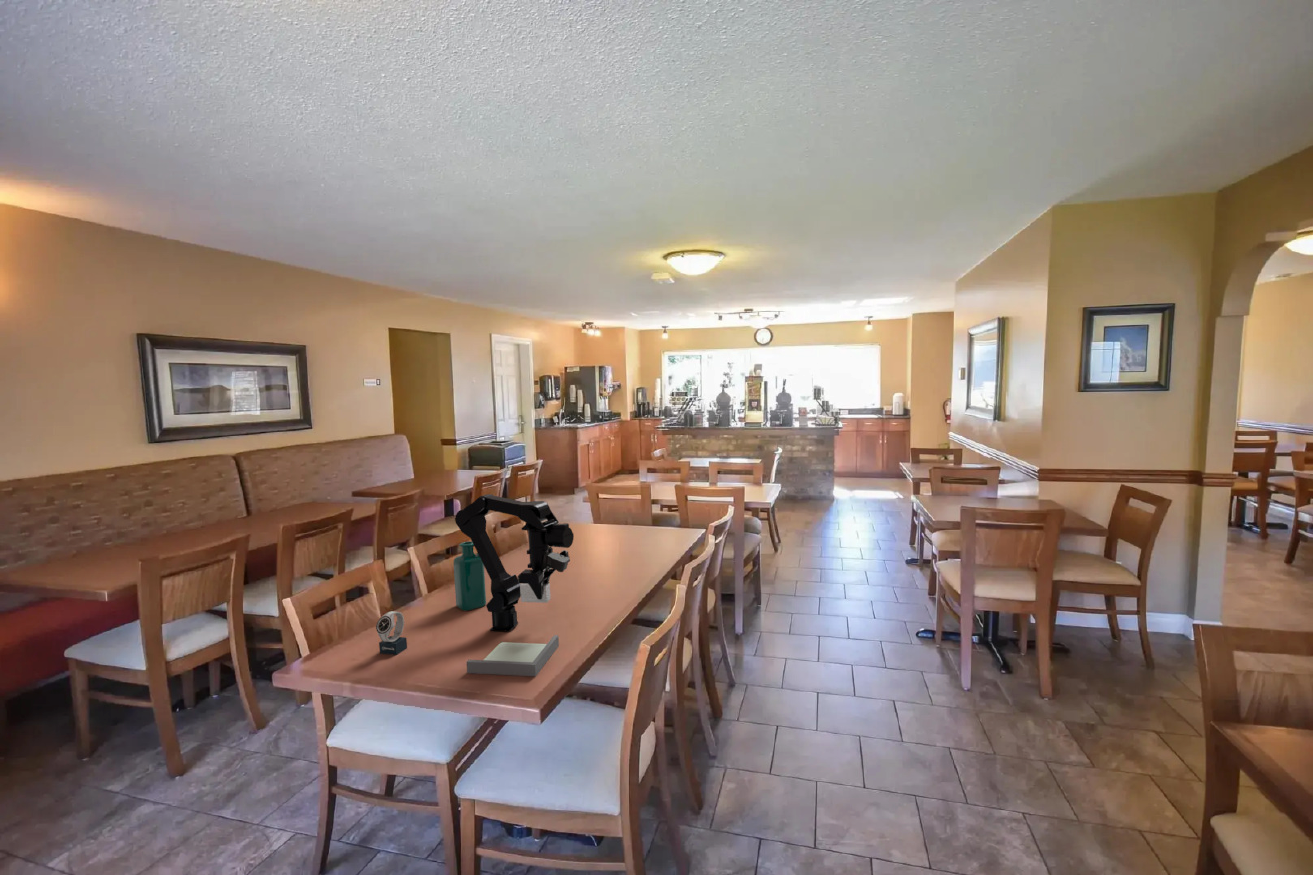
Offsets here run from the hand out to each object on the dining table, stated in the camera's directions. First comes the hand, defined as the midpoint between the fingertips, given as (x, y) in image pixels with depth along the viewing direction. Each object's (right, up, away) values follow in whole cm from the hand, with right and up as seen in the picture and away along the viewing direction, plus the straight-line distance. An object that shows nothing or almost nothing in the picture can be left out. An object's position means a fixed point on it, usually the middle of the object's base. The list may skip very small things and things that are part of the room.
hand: (541, 597), depth 166 cm
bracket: (-1, -1, +3) cm, 3 cm away
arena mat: (-4, -12, -14) cm, 19 cm away
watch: (-40, -13, -7) cm, 43 cm away
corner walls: (-4, -12, -14) cm, 19 cm away
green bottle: (-29, -10, +26) cm, 40 cm away
